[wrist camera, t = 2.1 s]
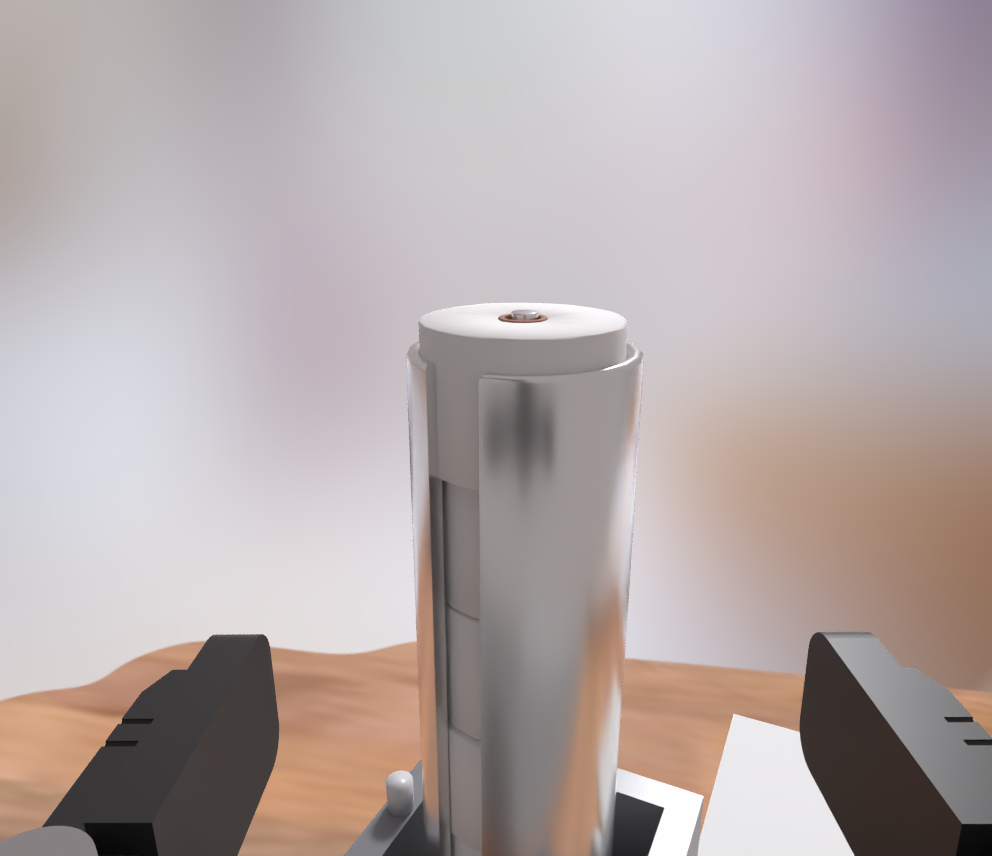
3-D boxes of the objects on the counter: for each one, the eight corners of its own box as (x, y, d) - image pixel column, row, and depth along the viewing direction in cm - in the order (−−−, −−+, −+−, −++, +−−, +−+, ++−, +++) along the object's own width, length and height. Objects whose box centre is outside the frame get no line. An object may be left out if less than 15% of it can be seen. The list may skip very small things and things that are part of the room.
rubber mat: (685, 899, 31) (686, 888, 31) (732, 722, 42) (733, 713, 41) (1029, 1031, 26) (1033, 1019, 26) (986, 794, 37) (989, 784, 36)
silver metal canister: (638, 1024, 27) (698, 323, 19) (467, 1109, 24) (453, 344, 16) (553, 876, 32) (572, 289, 24) (408, 933, 30) (377, 301, 22)
